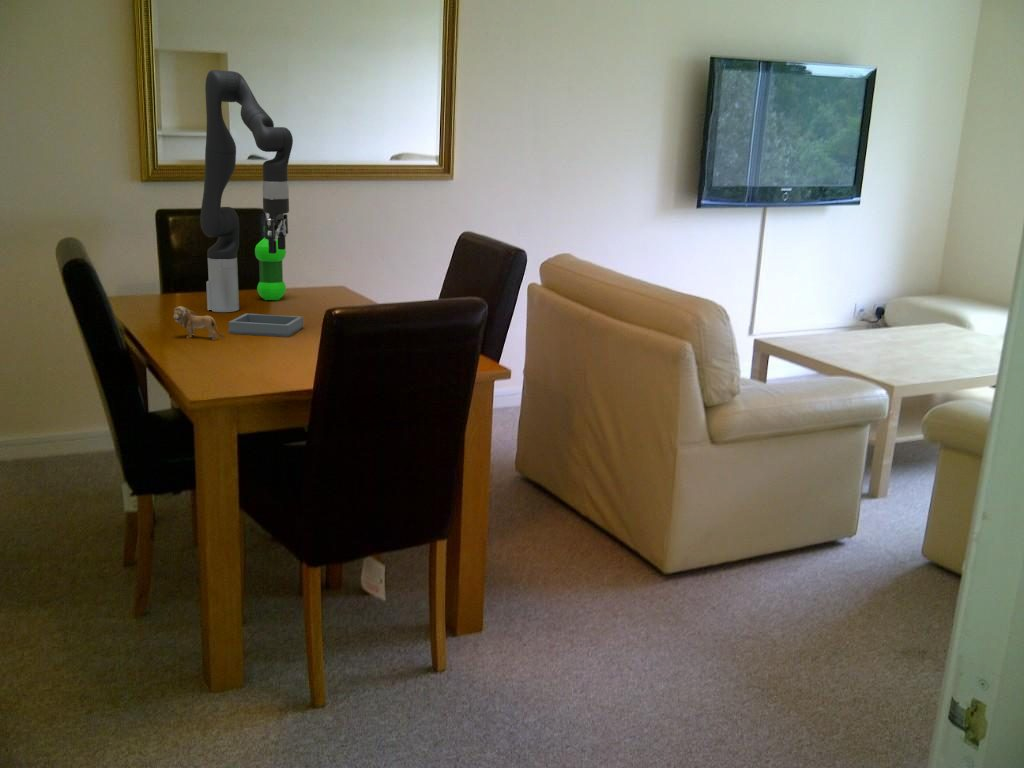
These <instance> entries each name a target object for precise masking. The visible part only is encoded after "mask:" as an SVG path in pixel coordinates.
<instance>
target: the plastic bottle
mask: <svg viewBox="0 0 1024 768" xmlns="http://www.w3.org/2000/svg"><path fill="white" fill-rule="evenodd" d="M263 233H264V234H265V226H263ZM271 235H272V234H271ZM276 244H277V253H275V254H271V253H269V245H268V240H267V239H265V237H263V239H261V240H260V241H259V242H258V243H257V244H256V245H255V248H254V255H255V258H256V259H257V260H258V267H259V270H258V272H259V273H258V274H259V282H258V284H257V287H256V291H257V294H258V295H259V296H260V297H261V298H262V299H264V301H267V300H276V301H280V299H282V297H284V295H285V293H286V291H287V286H286V284H285V282H284V276H283V275H284V274H283V260H284V259H285V257H286V254H287V252H286V251H287V249H286V248H285V249H284V250H281V249H278V238H277V239H276Z"/></svg>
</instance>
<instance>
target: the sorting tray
mask: <svg viewBox="0 0 1024 768" xmlns="http://www.w3.org/2000/svg"><path fill="white" fill-rule="evenodd" d="M301 328H303V329H304V317H303V316H296V315H281V314H280V315H279V314H278V315H277V314H263V313H261V314H259V313H247V312H246V313H244V314H242V315H239V316H238V317H235V318H234V319H232V320H229V321H228V334H229V335H242V336H243V335H244V336H245V335H246V336H247V335H248V336H260V335H261V336H265V337H276V336H277V338H278V337H281V338H291V336H293V335H294V333H295V334H297V331H298V332H299V331H301V330H302V329H301ZM300 329H301V330H300Z"/></svg>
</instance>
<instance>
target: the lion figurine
mask: <svg viewBox="0 0 1024 768" xmlns="http://www.w3.org/2000/svg"><path fill="white" fill-rule="evenodd" d="M173 312H174V313H173V319H174V321H175V322H176V323H178V324H179V325H180V326H181V328H182V327H183V328H186V330H187V334H188V335H186V337H187V338H186V339H189V338H188V337H191V338H192V337H193V336H194V332H195V329H203V328H205V329H206V331H207V332H209V333H210V334H209V335H208V336H207V337H208V338H211V340H212V341H216V340H217V334H218V336H219V337H221V338H225V335H223V334H221V332H220V331H219V328H218V325H217V323H216V321H215V319H214V317H213V316H211V315H198V314H197V313H195V312H194V311H193V310H190V309H189V308H188V307H184V306H177V307H175V308H173ZM214 328H215V329H214ZM192 335H193V336H192Z"/></svg>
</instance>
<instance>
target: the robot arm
mask: <svg viewBox="0 0 1024 768" xmlns="http://www.w3.org/2000/svg"><path fill="white" fill-rule="evenodd" d="M205 77H206V78H205V84H204V85H205V86H204V87H205V89H204V91H205V107H206V108H205V109H206V110H205V111H206V112H205V113H206V135H205V136H206V137H205V150H204V151H205V153H204V166H205V167H204V182H203V183H204V184H203V195H202V199H201V200H202V201H201V209H200V228H201V231H202V232H203V234H204V235H205V236H206V237H207V238H217V241H216V242H215V243H214V244H212V246H210V247H209V248H208V249H207V250H206V252H207V269H208V270H207V272H208V280H207V281H206V283H205V284H206V286H205V287H206V304H207V305H206V307H207V311H209V310H212V311H211V312H214V313H230V312H237V311H239V310H240V299H239V274H238V273H239V272H238V271H239V270H238V251H239V248H240V221H239V216H238V213H237V211H236V210H235V209H234V208H233V207H231V206H221V205H222V199H223V193H224V190H225V189H226V186H227V184H228V183H229V181H230V179H231V177H232V176H233V174H234V171H235V169H236V163H237V162H236V161H237V157H236V156H237V146H236V142H235V140H234V138H233V136H232V134H231V132H230V130H229V129H228V127H227V125H226V123H225V121H224V120H225V119H224V117H223V112H222V111H223V109H222V108H223V107H222V102H224V103H237V104H238V105H240V106H241V108H240V117H241V120H242V122H243V124H244V126H246V127H247V128H248V129H249V131H250V132H251V134H252V136H253V138H254V142H255V144H256V147H257V148H258V149H259V150H261V151H262V152H267V153H271V152H272V153H275V152H276V153H275V155H274V158H271V159H268V160H265V161H264V162H263V164H262V211H263V213H265V214H268V218H265V219H264V227H265V233H264V238H265V239H267V240H268V245H269V253H271V254H275V253H277V244H276V239H278V249H281V250H284V249H285V248H286V247H287V246H286V237H287V235H288V234H289V226H288V225H289V224H288V213H289V212H290V194H289V193H290V191H289V182H288V166H289V160H290V158H291V157H290V156H291V152H292V149H293V144H294V143H293V142H294V140H293V134H292V133H291V130H290V129H288V128H287V127H284V126H281V127H280V126H274V125H275V123H274V120H273V119H272V118H271V116H270V115H269V114H268V113H267V112H266V111H265V110H264V109H263V108H262V107H261V105H260V104H259V102H258V101H257V98H256V97H255V95H254V93H253V92H252V90H251V88H250V86H249V84H248V83H247V80H246V79H245V78H244V76H243V75H242V74H241V73H239V72H237V71H233V70H232V71H231V70H221V69H220V70H217V69H212V70H211V69H210V70H209V71H208V73H207V75H206V76H205ZM271 234H272V235H271Z"/></svg>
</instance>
